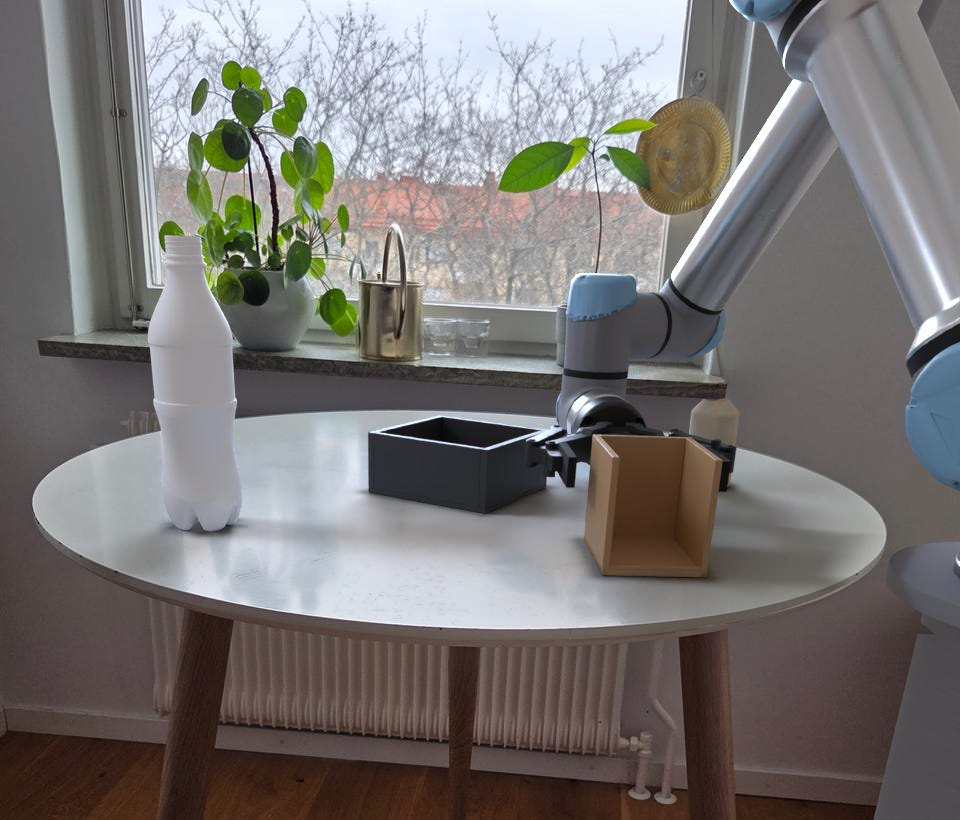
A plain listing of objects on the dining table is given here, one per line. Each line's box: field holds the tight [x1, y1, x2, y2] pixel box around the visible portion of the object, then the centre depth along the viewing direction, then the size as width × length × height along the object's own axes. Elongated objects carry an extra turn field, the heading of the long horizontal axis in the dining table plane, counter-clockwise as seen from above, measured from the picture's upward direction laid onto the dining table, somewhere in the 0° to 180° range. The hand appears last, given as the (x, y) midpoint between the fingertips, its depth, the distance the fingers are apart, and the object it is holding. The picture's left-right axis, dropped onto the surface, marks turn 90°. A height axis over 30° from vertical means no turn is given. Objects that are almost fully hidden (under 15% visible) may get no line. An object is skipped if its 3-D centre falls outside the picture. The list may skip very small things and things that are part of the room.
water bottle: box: [147, 234, 243, 532], centre depth 83 cm, size 7×7×25 cm
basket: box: [367, 414, 548, 514], centre depth 103 cm, size 15×15×6 cm
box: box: [583, 434, 723, 578], centre depth 82 cm, size 10×9×10 cm
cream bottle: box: [688, 398, 741, 488], centre depth 110 cm, size 6×6×10 cm
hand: (648, 474), depth 82 cm, fingers open, 13 cm apart
